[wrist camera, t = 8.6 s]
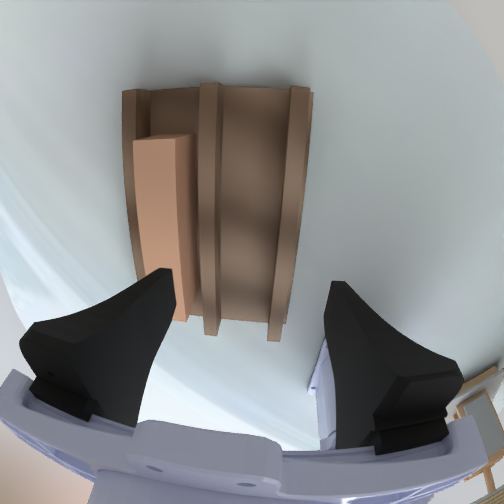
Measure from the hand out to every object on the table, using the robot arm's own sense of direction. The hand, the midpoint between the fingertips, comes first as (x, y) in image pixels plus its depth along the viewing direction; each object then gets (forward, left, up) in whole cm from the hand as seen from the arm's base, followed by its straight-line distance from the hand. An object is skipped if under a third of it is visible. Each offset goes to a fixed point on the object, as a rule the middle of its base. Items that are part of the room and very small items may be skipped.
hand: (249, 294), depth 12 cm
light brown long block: (0, +6, -8) cm, 10 cm away
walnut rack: (0, +3, -9) cm, 9 cm away
